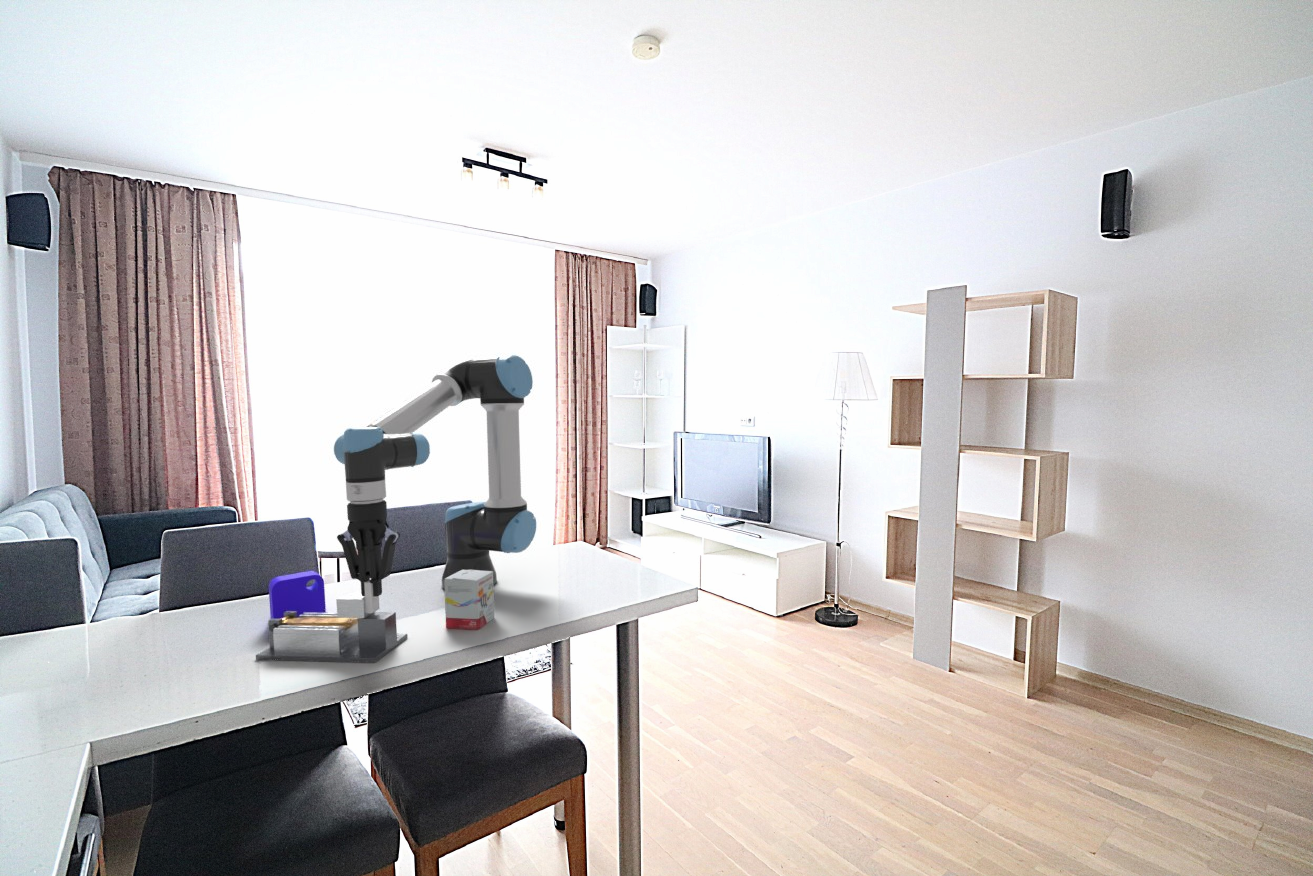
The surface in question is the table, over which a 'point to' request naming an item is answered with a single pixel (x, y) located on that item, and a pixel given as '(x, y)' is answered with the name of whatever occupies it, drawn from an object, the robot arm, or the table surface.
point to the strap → (319, 621)
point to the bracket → (296, 594)
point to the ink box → (469, 599)
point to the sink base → (360, 652)
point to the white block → (351, 606)
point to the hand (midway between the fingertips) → (372, 610)
